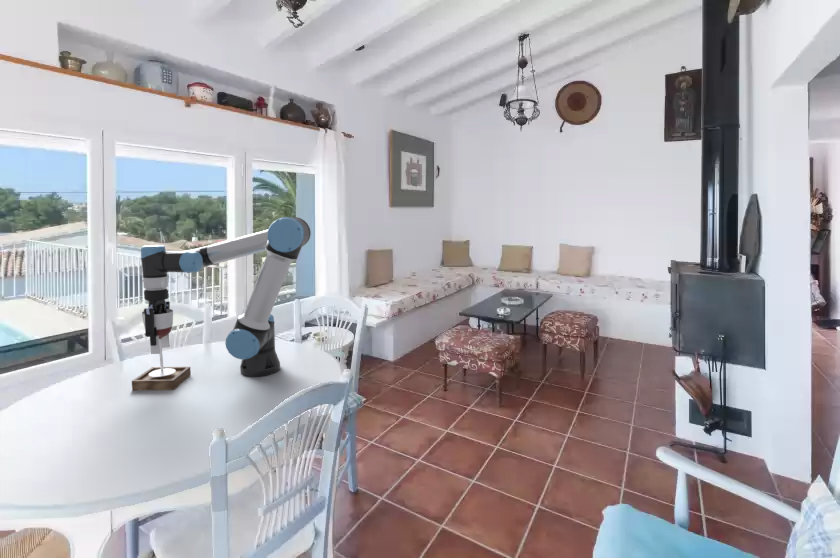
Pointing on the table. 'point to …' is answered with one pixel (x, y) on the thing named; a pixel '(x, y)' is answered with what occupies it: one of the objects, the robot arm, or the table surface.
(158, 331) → the wineglass
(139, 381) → the tray
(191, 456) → the table surface
